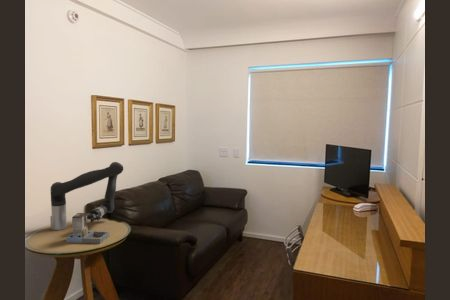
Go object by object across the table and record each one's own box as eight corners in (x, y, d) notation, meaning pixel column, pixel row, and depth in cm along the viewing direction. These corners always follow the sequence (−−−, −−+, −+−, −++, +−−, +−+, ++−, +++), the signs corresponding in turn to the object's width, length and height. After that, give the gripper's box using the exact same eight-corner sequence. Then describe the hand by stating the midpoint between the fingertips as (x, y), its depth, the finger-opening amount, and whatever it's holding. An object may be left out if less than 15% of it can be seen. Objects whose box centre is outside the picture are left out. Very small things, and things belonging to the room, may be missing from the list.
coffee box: (78, 236, 203) (77, 212, 202) (88, 236, 204) (87, 212, 202) (72, 241, 194) (71, 216, 193) (82, 241, 195) (82, 216, 193)
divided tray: (66, 242, 193) (66, 235, 192) (77, 235, 206) (77, 229, 205) (100, 243, 191) (100, 237, 191) (109, 236, 204) (109, 230, 204)
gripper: (87, 208, 220) (74, 214, 204) (106, 208, 220) (94, 215, 203) (87, 218, 221) (74, 225, 205) (106, 218, 220) (95, 226, 204)
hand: (84, 220), depth 204 cm, fingers open, 8 cm apart
